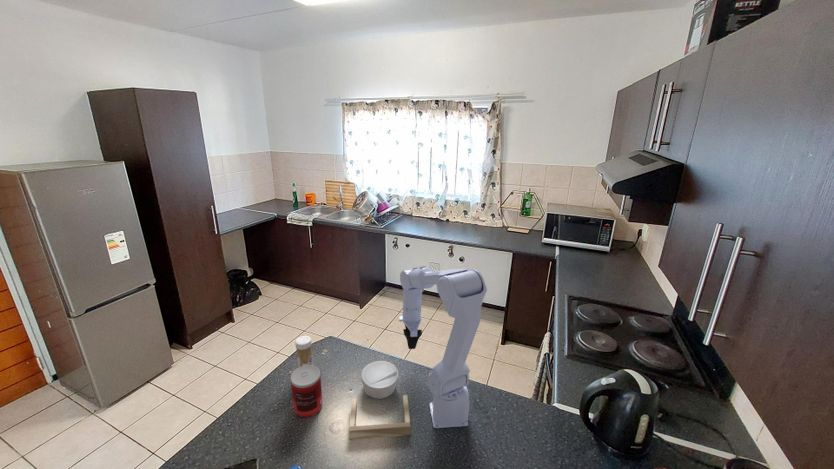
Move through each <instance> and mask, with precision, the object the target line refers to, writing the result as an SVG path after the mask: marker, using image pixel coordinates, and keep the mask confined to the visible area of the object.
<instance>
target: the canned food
mask: <svg viewBox="0 0 834 469" xmlns="http://www.w3.org/2000/svg"><path fill="white" fill-rule="evenodd" d="M321 378H322V377H321V371H320V368H318V367H317V366H315V365H314V364H313V365H305V366H301V367H299V368H298V367H297V368H296V369H295V370H293V372H292V373H291V375H290V388H291V396H292V404H293V409H294V412H295V414H296V415H297V416H299V417H301V418H311V417H313V416H314V415H317V413H319V412H320V410H321V408H322V407H323V406H322V405H323V392H322V380H321Z"/></svg>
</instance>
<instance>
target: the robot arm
mask: <svg viewBox="0 0 834 469" xmlns="http://www.w3.org/2000/svg"><path fill="white" fill-rule="evenodd" d="M399 282H400V286H401V287H402V314H401V315H399V316H398V321H399V322H402V323H403V324H404V328H403V335H404V337H405V339H406V343H407V347H408V350H416V347H417V345H418V341H419V339H420V337H421V336H423V335H422V334H423V330H422V329H419V328H420V324H421V322H422V302H423V300H422V295H423V292H424V291H425V289H431V288H433V287H434V285H436V290H437V292H438V295H439V297H440V299H441V302H442V304H443V307H444V309H445V310H446V312H447V315H448V317H451V318H454V322H453V324H452V328H451V331H450V335H449V337H448V340H447V344H446V347H445V351H444V352H443V357H442V360H441V361H439V362H438V363H437V364H436V365H435V366H433V367H432V369H431V371H429V373H428V376H427V383H428V388H429V389H430V392H431V393H432V395H433V401H432V402H429V410H430V417H431V422H432V426H433V428H434V429H443V428H457V427H469V422H468V421H469V412H470V393H469V390H468V387H467V386H468V384H469V383H470V375H469V374H470V372H471V370H470V369H471V368H469V366H468V364H467V362H466V361H467V358H468V356H469V353H470V351H471V348H472V345H473V342H474V340H475V338H476V334H477V331H478V328H479V326H480V322H481V318H482V305H483V302H484V300H485V296H486V294H487V291H488V288H487V285H486V283H485V279H484V276H483V275H482V274H481V272H480V271H479V270H478V269H475V268H474V269H470V270H469V269H468V268H449V269H444V270H443V269H442V270H437V271H435V270H434V269H433V268H430V267H427V266H426V265H421V266H419V267H417V266H414V267H412V268H409V269H406V270H404V269H403V270H402V271H401V272H400V273H399Z"/></svg>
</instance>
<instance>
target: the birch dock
mask: <svg viewBox="0 0 834 469" xmlns="http://www.w3.org/2000/svg"><path fill="white" fill-rule="evenodd" d="M402 407H403V408H402V409H403V420H404V422H395V423H392V422H391V423H381V424H370V425H369V424H367V425H356V424H357V409H358V399H357V397H352V398H351V407H350V408H351V409H350V418H349V428H348V429H349V431H348V434H349V435H348V436H349V437H348V438H349V441H352V440H353V441H354V440H365V439H377V438H389V437H391V438H392V437H401V436H402V437H403V436H411V419H410V418H411V417H410V409H409V401H408V394H403V395H402Z"/></svg>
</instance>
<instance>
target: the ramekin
mask: <svg viewBox="0 0 834 469" xmlns="http://www.w3.org/2000/svg"><path fill="white" fill-rule="evenodd" d="M360 378H361V383H362V385H363V389H364V391H365V393H366V394H367V395H368V396H369V397H371V398H373V399H376V398H377V399H379V400H380V399H381V400H382V399H384V398H387V397H389V396H391V395H392V394H393V393H394V392H395V389H396V388H397V383H398V380H399V369H398V368H397V367H396V365H395V364H393V363H392V362H389V361H386V360H375V361H371V362H370V363H368V364H367V365H366V366H364V367H363V369H362V371H361V375H360Z"/></svg>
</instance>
